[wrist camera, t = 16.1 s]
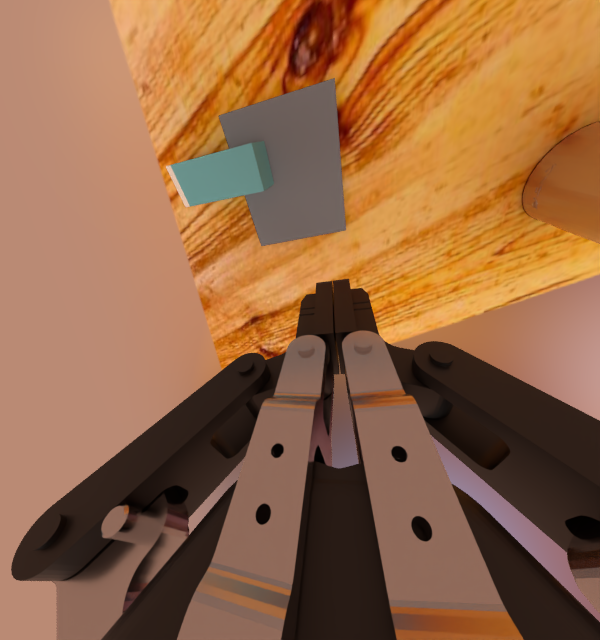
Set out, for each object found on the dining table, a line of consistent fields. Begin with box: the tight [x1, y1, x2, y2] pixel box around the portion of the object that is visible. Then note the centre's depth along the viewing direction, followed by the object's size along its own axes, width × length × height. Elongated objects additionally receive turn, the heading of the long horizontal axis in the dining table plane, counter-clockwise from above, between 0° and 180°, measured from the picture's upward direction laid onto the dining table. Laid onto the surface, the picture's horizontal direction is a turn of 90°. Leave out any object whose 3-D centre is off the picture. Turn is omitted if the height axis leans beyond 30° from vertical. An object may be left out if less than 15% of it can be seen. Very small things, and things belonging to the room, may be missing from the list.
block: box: [166, 141, 274, 207], centre depth 24 cm, size 4×4×10 cm
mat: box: [219, 78, 346, 246], centre depth 26 cm, size 12×14×1 cm
